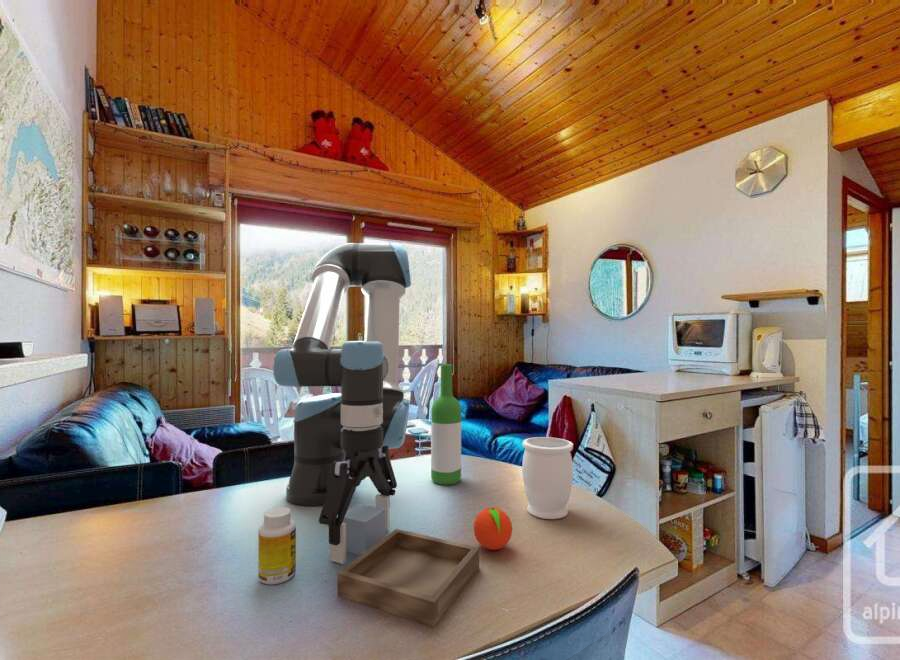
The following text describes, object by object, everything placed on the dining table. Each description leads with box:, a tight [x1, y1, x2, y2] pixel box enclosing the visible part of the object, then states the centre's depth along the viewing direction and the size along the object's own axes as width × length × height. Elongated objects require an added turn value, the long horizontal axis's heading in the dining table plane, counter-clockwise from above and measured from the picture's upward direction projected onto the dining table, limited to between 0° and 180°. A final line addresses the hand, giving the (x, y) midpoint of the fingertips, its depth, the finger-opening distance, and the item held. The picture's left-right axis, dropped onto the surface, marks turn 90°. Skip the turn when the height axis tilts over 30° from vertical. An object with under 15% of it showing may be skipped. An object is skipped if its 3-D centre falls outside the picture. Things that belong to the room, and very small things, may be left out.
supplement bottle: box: [257, 506, 297, 585], centre depth 70 cm, size 6×6×10 cm
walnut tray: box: [337, 528, 480, 628], centre depth 69 cm, size 16×16×3 cm
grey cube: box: [343, 503, 386, 556], centre depth 80 cm, size 6×6×6 cm
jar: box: [521, 436, 574, 520], centre depth 95 cm, size 11×10×15 cm
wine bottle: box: [430, 363, 462, 486], centre depth 114 cm, size 8×8×30 cm
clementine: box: [473, 507, 513, 551], centre depth 79 cm, size 8×7×7 cm
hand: (361, 544), depth 80 cm, fingers open, 12 cm apart
